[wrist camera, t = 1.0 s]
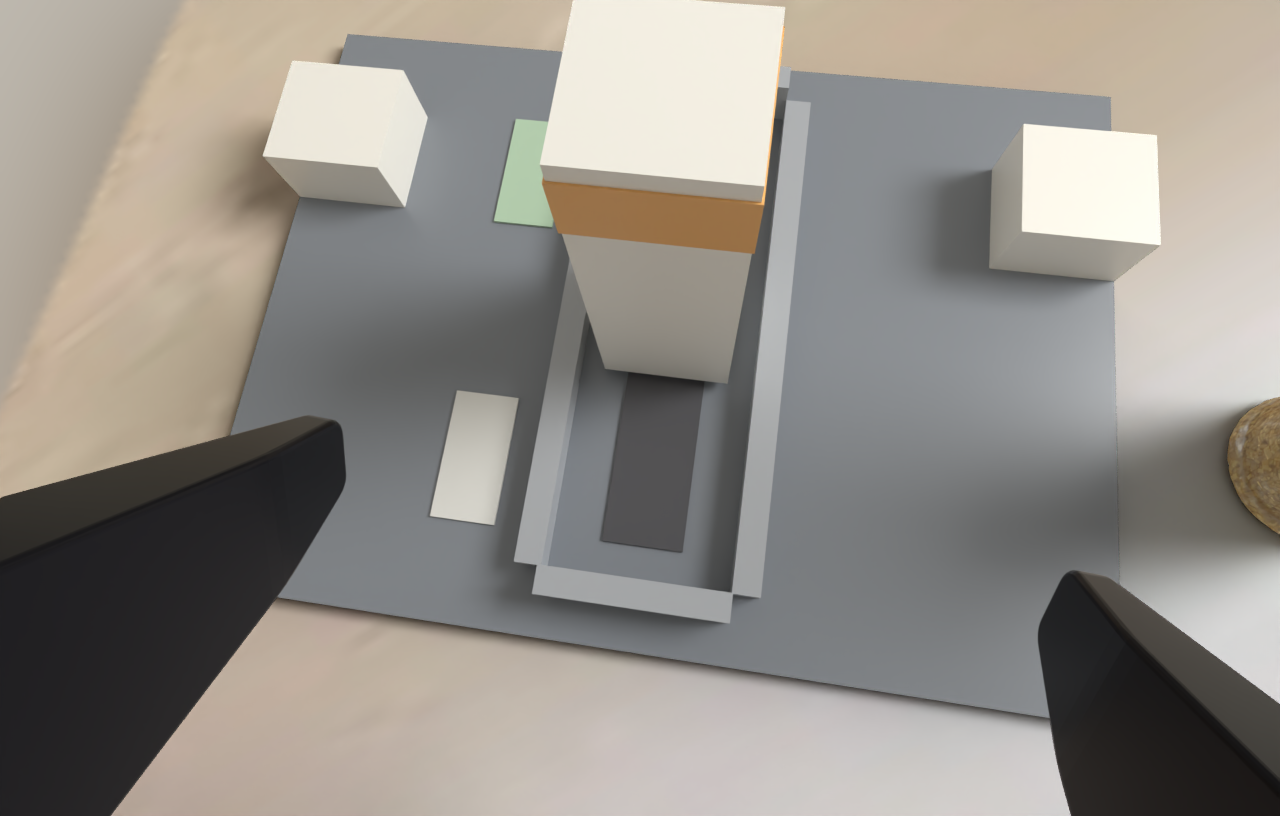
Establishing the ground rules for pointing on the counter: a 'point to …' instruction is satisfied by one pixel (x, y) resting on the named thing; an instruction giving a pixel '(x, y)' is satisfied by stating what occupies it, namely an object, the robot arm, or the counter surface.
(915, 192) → the panel
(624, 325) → the handle
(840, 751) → the counter surface
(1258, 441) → the sprinkles bottle
